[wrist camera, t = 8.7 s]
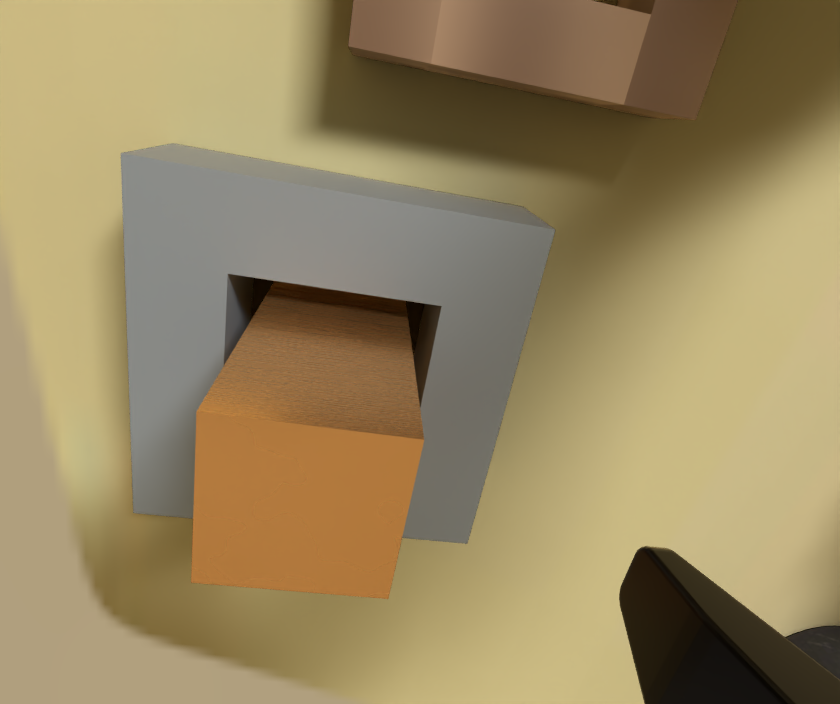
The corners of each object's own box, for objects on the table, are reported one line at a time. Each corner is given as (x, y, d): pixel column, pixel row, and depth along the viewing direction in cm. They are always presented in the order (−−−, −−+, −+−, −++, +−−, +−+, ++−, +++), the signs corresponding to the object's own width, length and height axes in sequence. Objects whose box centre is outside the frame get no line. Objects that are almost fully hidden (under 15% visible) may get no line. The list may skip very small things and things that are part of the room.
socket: (522, 206, 17) (555, 229, 14) (454, 478, 21) (467, 543, 18) (172, 143, 16) (120, 152, 13) (172, 448, 20) (133, 512, 17)
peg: (404, 289, 18) (424, 439, 10) (384, 393, 20) (388, 598, 12) (281, 269, 18) (196, 411, 9) (271, 378, 19) (191, 582, 11)
